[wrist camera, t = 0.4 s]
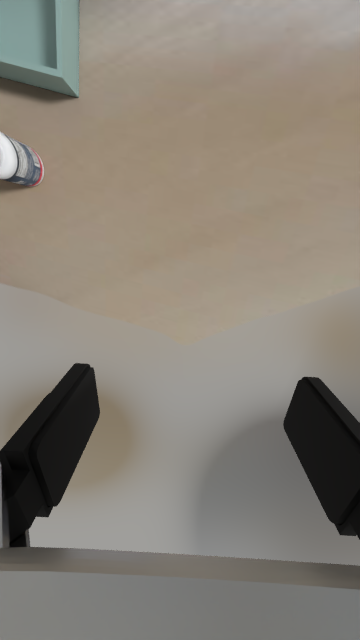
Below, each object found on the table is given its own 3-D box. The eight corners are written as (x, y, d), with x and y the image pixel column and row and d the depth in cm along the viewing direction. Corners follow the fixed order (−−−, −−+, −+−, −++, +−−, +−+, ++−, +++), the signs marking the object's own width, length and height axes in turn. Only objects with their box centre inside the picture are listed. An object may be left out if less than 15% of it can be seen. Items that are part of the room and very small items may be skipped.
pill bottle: (8, 177, 32) (-53, 159, 24) (11, 137, 30) (-55, 103, 22) (42, 193, 32) (-5, 181, 24) (48, 155, 30) (-2, 129, 22)
